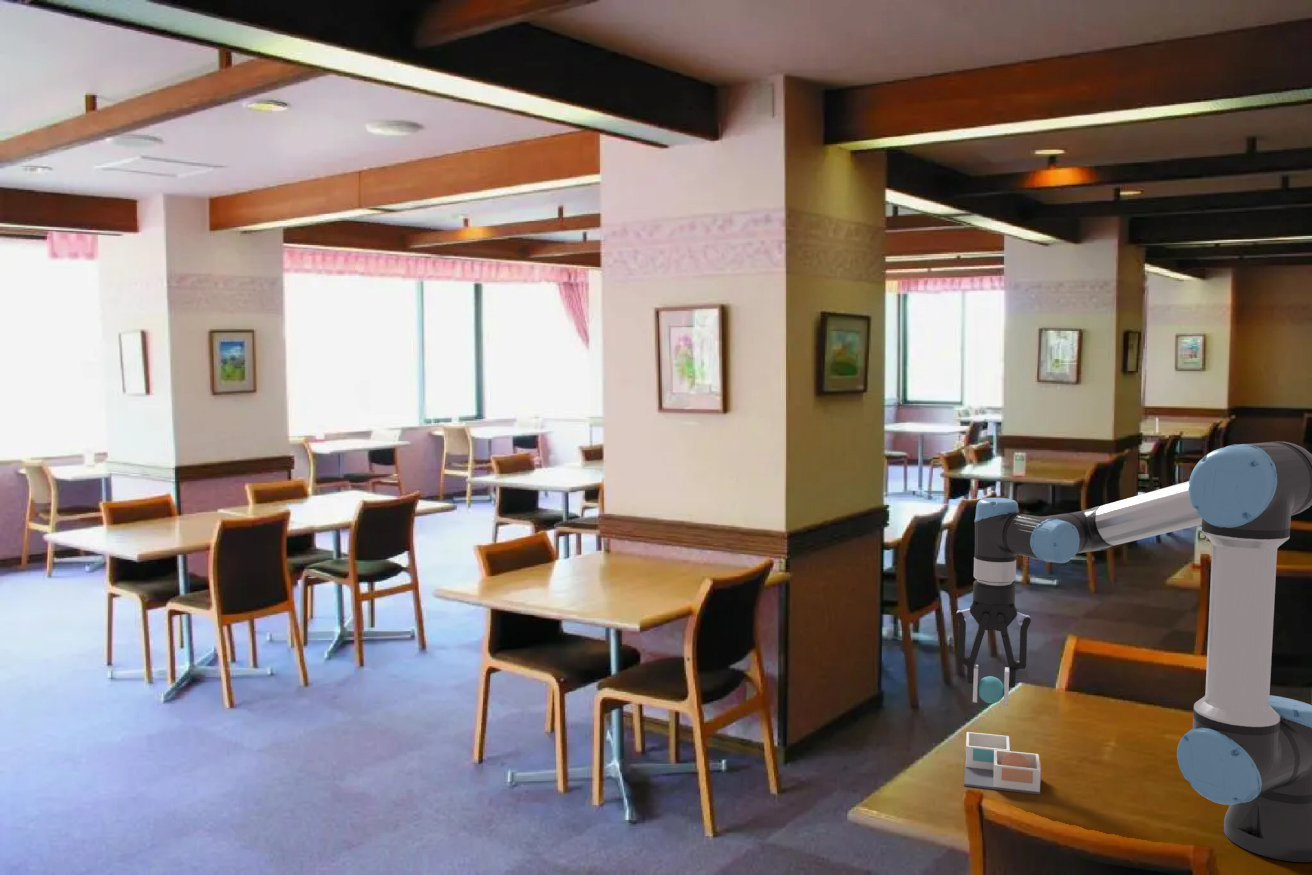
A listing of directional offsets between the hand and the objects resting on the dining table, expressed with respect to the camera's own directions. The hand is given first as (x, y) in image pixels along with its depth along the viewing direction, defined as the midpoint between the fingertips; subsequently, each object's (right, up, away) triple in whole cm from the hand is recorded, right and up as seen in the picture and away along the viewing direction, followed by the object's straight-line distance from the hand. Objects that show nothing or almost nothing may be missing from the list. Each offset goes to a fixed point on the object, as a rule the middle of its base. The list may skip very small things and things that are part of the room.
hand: (990, 701), depth 205 cm
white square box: (+2, -13, -8) cm, 15 cm away
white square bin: (0, -12, +1) cm, 12 cm away
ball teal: (0, +2, 0) cm, 2 cm away
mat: (+1, -12, -4) cm, 13 cm away
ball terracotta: (+2, -10, -8) cm, 13 cm away
